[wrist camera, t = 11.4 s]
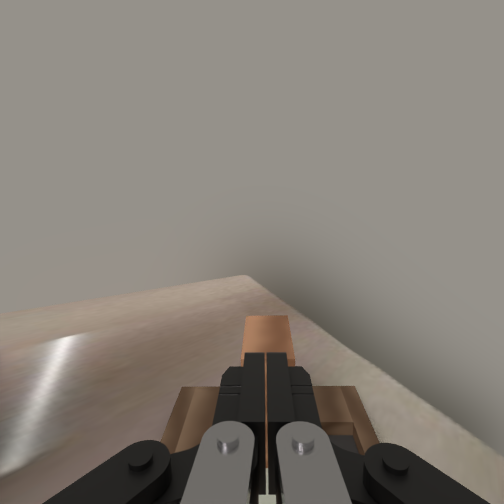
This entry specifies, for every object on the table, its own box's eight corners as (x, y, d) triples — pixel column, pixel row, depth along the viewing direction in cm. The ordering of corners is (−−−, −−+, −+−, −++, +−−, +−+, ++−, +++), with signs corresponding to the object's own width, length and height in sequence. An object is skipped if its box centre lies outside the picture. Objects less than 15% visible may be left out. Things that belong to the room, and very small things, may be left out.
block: (245, 468, 34) (240, 359, 31) (249, 402, 43) (246, 315, 41) (295, 468, 34) (295, 358, 31) (288, 402, 43) (287, 315, 41)
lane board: (74, 696, 20) (64, 648, 20) (182, 399, 48) (180, 374, 47) (481, 709, 19) (489, 659, 19) (354, 398, 47) (355, 373, 46)
